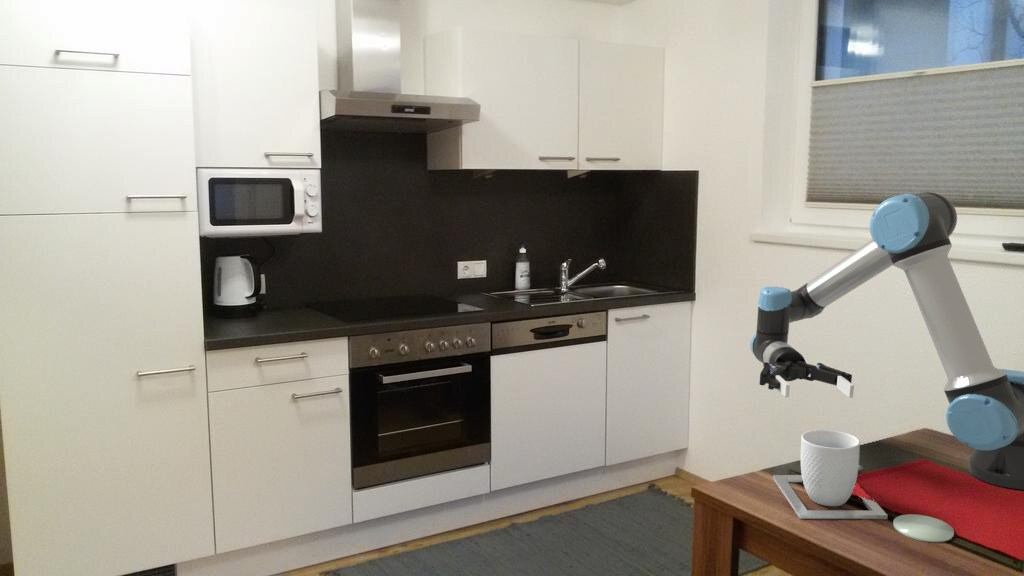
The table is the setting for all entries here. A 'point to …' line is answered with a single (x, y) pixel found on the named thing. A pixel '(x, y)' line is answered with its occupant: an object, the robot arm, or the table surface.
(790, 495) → the grey rectangular frame
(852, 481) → the mug
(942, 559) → the table surface
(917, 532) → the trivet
